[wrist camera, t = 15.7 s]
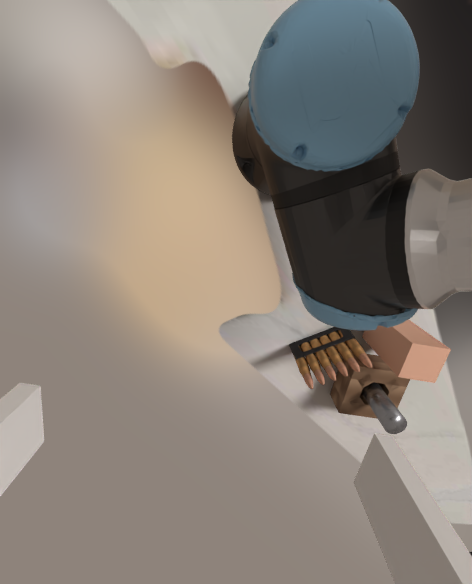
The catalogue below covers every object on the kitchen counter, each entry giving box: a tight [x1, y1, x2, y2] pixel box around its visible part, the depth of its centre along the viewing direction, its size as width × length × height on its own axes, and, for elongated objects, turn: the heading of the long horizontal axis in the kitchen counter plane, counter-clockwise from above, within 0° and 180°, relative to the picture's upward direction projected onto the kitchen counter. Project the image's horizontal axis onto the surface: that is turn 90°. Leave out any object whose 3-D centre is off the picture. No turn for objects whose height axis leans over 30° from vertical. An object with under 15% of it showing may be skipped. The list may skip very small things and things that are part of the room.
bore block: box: [330, 352, 410, 418], centre depth 51 cm, size 10×10×5 cm
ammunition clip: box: [289, 327, 372, 389], centre depth 45 cm, size 11×2×12 cm, turn 114°
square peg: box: [362, 320, 451, 383], centre depth 44 cm, size 6×6×12 cm
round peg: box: [361, 382, 407, 434], centre depth 48 cm, size 3×3×12 cm
